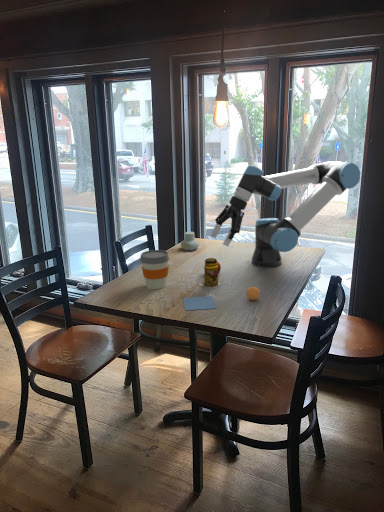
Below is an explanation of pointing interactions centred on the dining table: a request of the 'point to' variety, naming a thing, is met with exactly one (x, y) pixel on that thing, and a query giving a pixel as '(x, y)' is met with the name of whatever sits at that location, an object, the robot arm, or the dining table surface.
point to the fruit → (218, 267)
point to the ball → (253, 293)
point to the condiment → (210, 273)
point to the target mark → (199, 303)
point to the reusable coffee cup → (155, 268)
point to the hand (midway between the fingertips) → (218, 241)
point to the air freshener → (189, 242)
